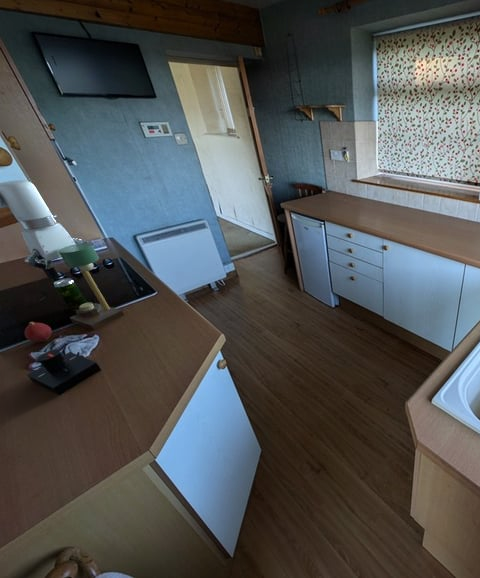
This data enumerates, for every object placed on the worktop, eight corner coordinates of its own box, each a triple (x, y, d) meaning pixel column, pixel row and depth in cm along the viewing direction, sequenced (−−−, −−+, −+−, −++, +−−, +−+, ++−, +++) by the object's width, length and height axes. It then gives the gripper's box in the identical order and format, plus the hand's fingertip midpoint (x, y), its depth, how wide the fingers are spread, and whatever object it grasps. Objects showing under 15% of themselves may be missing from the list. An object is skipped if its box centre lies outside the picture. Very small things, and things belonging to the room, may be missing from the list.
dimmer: (33, 382, 83) (26, 374, 82) (75, 358, 91) (69, 351, 90) (59, 395, 79) (52, 387, 78) (101, 369, 87) (95, 362, 86)
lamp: (93, 314, 105) (52, 250, 92) (117, 303, 111) (82, 241, 99) (107, 319, 102) (67, 254, 90) (131, 307, 109) (97, 244, 96)
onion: (29, 344, 98) (13, 325, 93) (51, 333, 102) (37, 315, 98) (38, 348, 96) (23, 329, 92) (60, 337, 100) (46, 319, 96)
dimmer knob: (43, 369, 83) (33, 357, 81) (63, 359, 87) (53, 347, 84) (52, 374, 82) (42, 361, 80) (71, 363, 86) (62, 351, 83)
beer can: (76, 304, 118) (59, 278, 112) (91, 303, 119) (75, 277, 113) (67, 312, 114) (48, 285, 108) (82, 310, 114) (65, 284, 108)
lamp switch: (79, 310, 108) (77, 306, 107) (90, 305, 111) (88, 301, 110) (85, 312, 107) (83, 308, 106) (96, 307, 110) (94, 303, 109)
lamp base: (72, 322, 108) (66, 313, 106) (102, 308, 116) (97, 299, 114) (94, 330, 104) (88, 321, 102) (124, 314, 112) (119, 306, 110)
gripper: (56, 214, 99) (83, 260, 107) (-6, 232, 84) (32, 284, 93) (76, 214, 98) (102, 261, 107) (18, 232, 83) (53, 284, 92)
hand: (69, 271), depth 100 cm, fingers open, 9 cm apart
